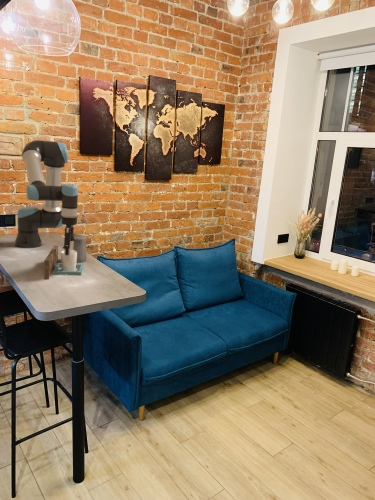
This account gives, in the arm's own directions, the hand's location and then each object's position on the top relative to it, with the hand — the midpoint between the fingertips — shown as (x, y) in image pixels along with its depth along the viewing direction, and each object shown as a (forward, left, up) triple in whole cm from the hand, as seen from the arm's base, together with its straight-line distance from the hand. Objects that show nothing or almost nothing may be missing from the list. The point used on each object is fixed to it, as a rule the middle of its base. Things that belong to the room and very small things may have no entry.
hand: (68, 256), depth 190 cm
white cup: (0, 0, -7) cm, 7 cm away
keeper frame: (0, 0, -7) cm, 7 cm away
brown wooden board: (-5, -7, -7) cm, 11 cm away
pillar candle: (-12, +13, -7) cm, 20 cm away
